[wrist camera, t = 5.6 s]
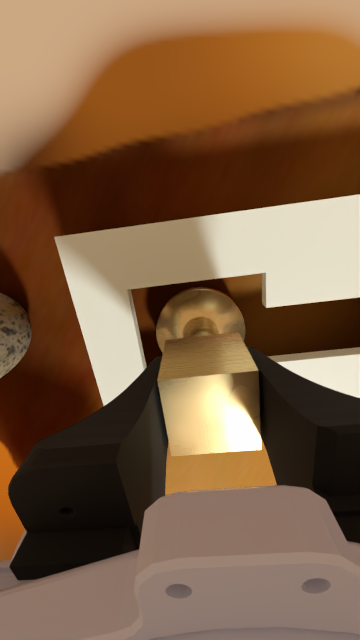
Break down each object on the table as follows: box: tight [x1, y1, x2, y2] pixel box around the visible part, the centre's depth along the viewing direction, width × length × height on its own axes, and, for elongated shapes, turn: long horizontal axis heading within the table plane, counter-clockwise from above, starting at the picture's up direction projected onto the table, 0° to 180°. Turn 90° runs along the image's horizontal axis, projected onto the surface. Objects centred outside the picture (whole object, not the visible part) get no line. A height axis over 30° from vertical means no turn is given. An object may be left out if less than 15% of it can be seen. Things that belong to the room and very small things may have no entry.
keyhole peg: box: [156, 287, 261, 456], centre depth 13 cm, size 6×6×9 cm
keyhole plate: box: [54, 194, 360, 406], centre depth 16 cm, size 24×14×4 cm, turn 97°
